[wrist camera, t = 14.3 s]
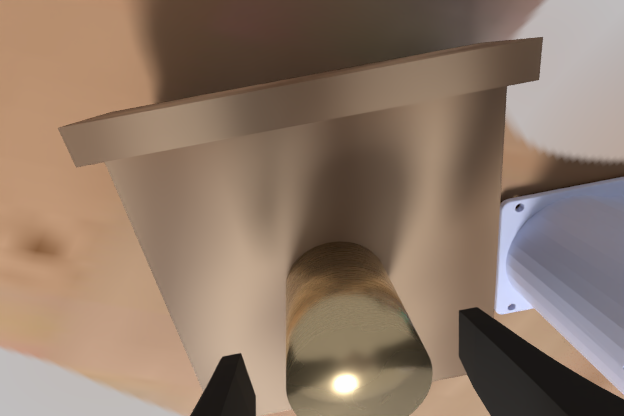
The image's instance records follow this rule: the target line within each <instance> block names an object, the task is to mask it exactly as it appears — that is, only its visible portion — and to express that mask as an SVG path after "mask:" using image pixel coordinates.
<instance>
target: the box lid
mask: <svg viewBox="0 0 624 416" xmlns="http://www.w3.org/2000/svg"><path fill="white" fill-rule="evenodd" d="M542 42H543V37H538V38H527V39H517V40H506V41H495V42H485V43H477V44H472V45H467V46H461V47H456V48H451V49H445V50H440V51H435V52H429V53H424V54H419V55H413V56H408V57H403V58H397V59H392V60H387V61H381V62H376V63H371V64H365V65H360V66H355V67H349V68H344V69H339V70H333V71H328V72H323V73H317V74H312V75H306V76H301V77H296V78H290V79H285V80H280V81H274V82H269V83H264V84H258V85H253V86H248V87H242V88H237V89H232V90H226V91H221V92H216V93H210V94H205V95H200V96H194V97H189V98H184V99H178V100H173V101H168V102H162V103H157V104H152V105H146V106H141V107H136V108H130V109H125V110H120V111H114V112H110V113H106V114H103V115H100V116H96V117H93V118H90V119H86V120H83V121H80V122H76V123H73V124H70V125H66V126H63V127H60V128H58V129H59V132H60V134H61V136H62V138H63V140H64V142H65V144H66V147H67V149H68V151H69V153H70V155H71V157H72V159H73V162H74V164H75V166H76V167H81V166H86V165H91V164H97V163H102V162H105V164H106V166H107V169H108V171H109V173H110V176H111V178H112V180H113V183H114V185H115V187H116V190H117V192H118V194H119V197H120V199H121V201H122V204H123V206H124V208H125V211H126V213H127V215H128V218H129V220H130V222H131V225H132V227H133V229H134V232H135V234H136V236H137V239H138V241H139V243H140V246H141V248H142V250H143V253H144V255H145V257H146V260H147V262H148V264H149V266H150V269H151V271H152V273H153V276H154V278H155V280H156V283H157V285H158V287H159V290H160V292H161V294H162V297H163V299H164V301H165V304H166V306H167V308H168V311H169V313H170V315H171V318H172V320H173V322H174V325H175V327H176V329H177V332H178V334H179V336H180V339H181V341H182V343H183V346H184V348H185V350H186V353H187V355H188V357H189V360H190V362H191V364H192V367H193V369H194V371H195V374H196V376H197V378H198V381H199V383H200V385H201V388H202V390H203V392H204V390H205V388H206V386H207V384H208V382H209V381H210V379H211V377H212V375H213V373H214V371H215V369H216V367H217V365H218V363H219V361H220V359H221V358H222V357H223V356H228V355H233V354H238V353H241V354H242V357H243V360H244V363H245V366H246V369H247V372H248V375H249V377H250V380H251V383H252V386H253V389H254V392H255V395H256V416H262V415H267V414H272V413H277V412H282V411H287V410H292V408H291V406H290V404H289V402H288V398H287V393H286V280H287V276H288V273H289V271H290V269H291V267H292V266H293V264H294V263H295V262H296V260H297V259H298V258H299V257H300V256H301V255H303V254H304V253H305V252H307V251H308V250H310V249H312V248H314V247H316V246H318V245H321V244H324V243H329V242H337V241H342V242H351V243H355V244H359V245H361V246H363V247H365V248H367V249H369V250H370V251H371V252H373V253H374V254H375V255H376V256H377V257H378V258H379V260H380V261H381V263H382V264H383V266H384V268H385V270H386V272H387V274H388V276H389V278H390V280H391V282H392V284H393V286H394V288H395V290H396V292H397V294H398V296H399V298H400V300H401V302H402V304H403V306H404V308H405V310H406V312H407V314H408V315H409V317H410V319H411V321H412V323H413V325H414V327H415V329H416V331H417V333H418V335H419V337H420V339H421V341H422V343H423V345H424V347H425V349H426V351H427V353H428V355H429V357H430V360H431V363H432V369H433V376H432V382H433V381H438V380H443V379H448V378H453V377H458V376H463V375H467V373H466V371H465V369H464V367H463V365H462V363H461V360H460V358H459V310H464V309H469V308H474V307H478V308H480V309H481V310H482V311H484V312H485V313H487V314H488V315H489V316H491V317H492V318H494V305H495V287H496V270H497V252H498V235H499V217H500V199H501V182H502V164H503V146H504V129H505V111H506V93H507V86H509V85H515V84H520V83H525V82H530V81H536V80H539V74H540V63H541V52H542Z"/></svg>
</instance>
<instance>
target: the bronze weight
mask: <svg viewBox="0 0 624 416" xmlns="http://www.w3.org/2000/svg"><path fill="white" fill-rule="evenodd" d="M432 376H433V369H432V363H431V360H430V357H429V355H428V353H427V351H426V349H425V347H424V345H423V343H422V341H421V339H420V337H419V335H418V333H417V331H416V329H415V327H414V325H413V323H412V321H411V319H410V317H409V315H408V314H407V312H406V310H405V308H404V306H403V304H402V302H401V300H400V298H399V296H398V294H397V292H396V290H395V288H394V286H393V284H392V282H391V280H390V278H389V276H388V274H387V272H386V270H385V268H384V266H383V264H382V263H381V261H380V260H379V258H378V257H377V256H376V255H375V254H374V253H373V252H371V251H370V250H369V249H367V248H365V247H363V246H361V245H359V244H355V243H351V242H342V241H337V242H329V243H324V244H321V245H318V246H316V247H314V248H312V249H310V250H308V251H307V252H305V253H304V254H303V255H301V256H300V257H299V258H298V259H297V260H296V262H295V263H294V264H293V266H292V267H291V269H290V271H289V273H288V276H287V280H286V393H287V398H288V402H289V404H290V406H291V408H292V409H293V411H294V412H295V414H296V415H297V416H409V415H410V414H411V413H413V412H414V411H415V410H416V409H417V408H418V407H419V405H420V404H421V403H422V402H423V400H424V399H425V397H426V396H427V393H428V391H429V389H430V386H431V383H432Z"/></svg>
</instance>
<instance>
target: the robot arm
mask: <svg viewBox="0 0 624 416" xmlns="http://www.w3.org/2000/svg"><path fill="white" fill-rule="evenodd" d="M518 204H520V206H519V207H518V208H517V209H515V208H516V206H517V205H518ZM510 304H511V305H510ZM509 305H510V306H509ZM532 308H535V309H536V310H537V311H538V312H539V313H540V314H541V315H542V316H543V317H544V318H545V319H546V320H547V321H548V322H549V323H550V324H551V325H552V326H553V327H554V328H555V329H556V330H557V331H558V332H559V333H560V334H561V335H562V336H564V337H565V338H566V339H567V340H568V341H569V342H570V343H571V344H572V345H573V346H574V347H575V348H576V349H577V350H578V351H579V352H580V353H581V354H582V355H583V356H584V357H585V358H586V359H587V360H588V361H589V362H590V363H591V364H592V365H593V366H595V367H596V368H597V369H598V370H599V371H600V372H601V373H602V374H603V375H604V376H605V377H606V378H607V379H608V380H609V381H610V382H611V383H612V384H613V385H614V386H615V387H616V388H617V389H618V390H619V391H620V392H621V393H622V394H623V395H624V177H619V178H614V179H609V180H604V181H598V182H593V183H588V184H583V185H578V186H572V187H567V188H562V189H557V190H552V191H547V192H541V193H536V194H531V195H526V196H521V197H516V198H510V199H506V200H504V201H503V202H502V203H501V204H500V217H499V235H498V252H497V270H496V287H495V305H494V310H495V311H496V312H497V313H498V314H507V313H512V312H517V311H522V310H527V309H532ZM459 358H460V360H461V363H462V365H463V367H464V369H465V371H466V373H467V375H468V377H469V379H470V381H471V383H472V385H473V387H474V389H475V391H476V392H477V394H478V396H479V397H480V399H481V400H482V402H483V404H484V405H485V407H486V409H487V410H488V412H489V413H490V415H491V416H624V399H622V398H620V397H618V396H616V395H614V394H612V393H611V392H609V391H607V390H605V389H603V388H601V387H599V386H598V385H596V384H594V383H592V382H591V381H589V380H587V379H585V378H584V377H582V376H580V375H579V374H577V373H575V372H574V371H572V370H570V369H569V368H567V367H565V366H564V365H562V364H560V363H559V362H557V361H556V360H554V359H553V358H551V357H549V356H548V355H546V354H545V353H543V352H542V351H540V350H539V349H537V348H536V347H534V346H533V345H531V344H530V343H528V342H527V341H525V340H524V339H522V338H521V337H519V336H518V335H517V334H515V333H514V332H512V331H511V330H509V329H508V328H506V327H505V326H504V325H502V324H501V323H499V322H498V321H497V320H495V319H494V318H492V317H491V316H489V315H488V314H487V313H485V312H484V311H482V310H481V309H480V308H478V307H474V308H469V309H464V310H459ZM190 416H256V395H255V392H254V389H253V386H252V383H251V380H250V377H249V375H248V372H247V369H246V366H245V363H244V360H243V357H242V354H241V353H238V354H233V355H228V356H223V357H222V358H221V359H220V361H219V363H218V365H217V367H216V369H215V371H214V373H213V375H212V377H211V379H210V381H209V382H208V384H207V386H206V388H205V390H204V392H203V394H202V396H201V397H200V399H199V401H198V403H197V405H196V406H195V408H194V410H193V412H192V413H191V415H190Z"/></svg>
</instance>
